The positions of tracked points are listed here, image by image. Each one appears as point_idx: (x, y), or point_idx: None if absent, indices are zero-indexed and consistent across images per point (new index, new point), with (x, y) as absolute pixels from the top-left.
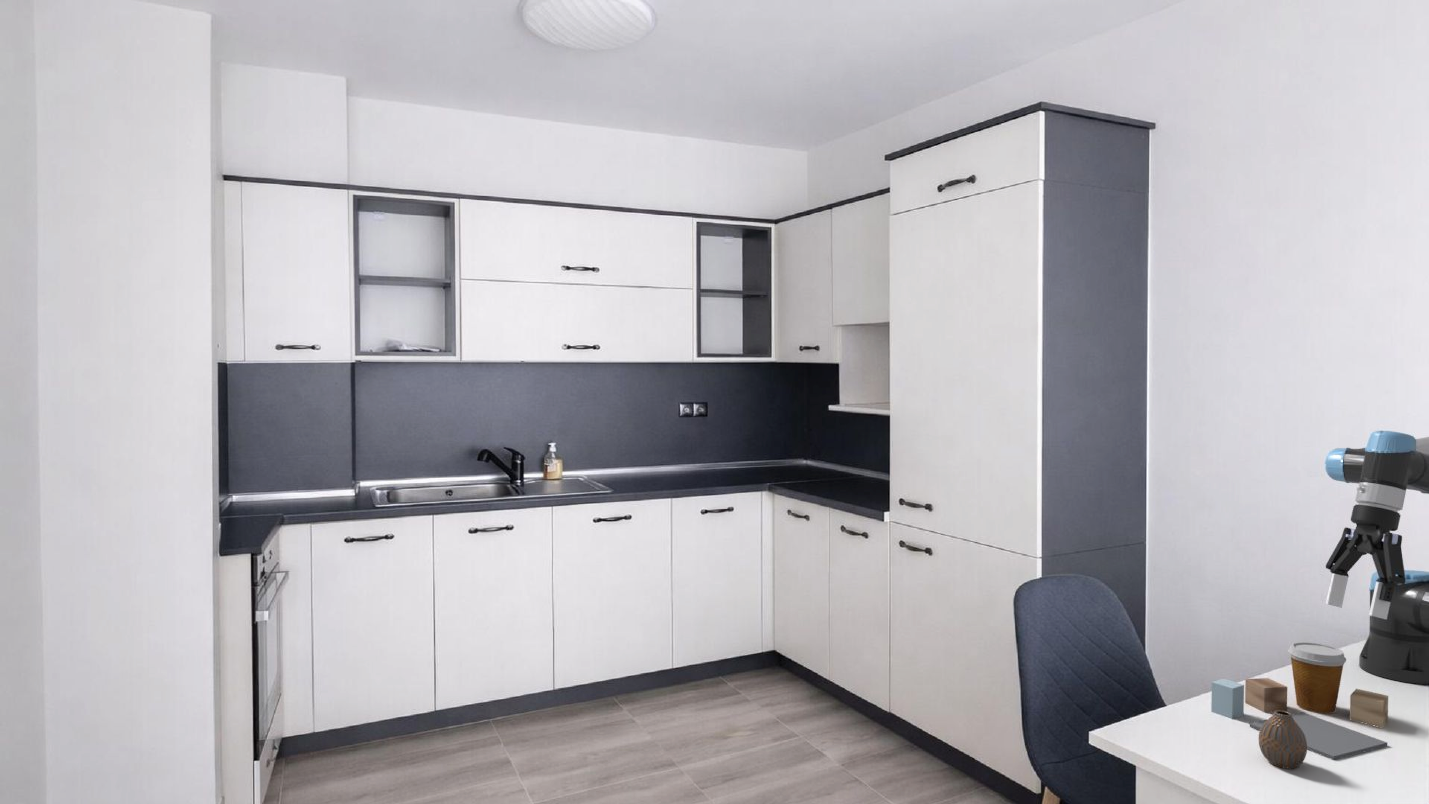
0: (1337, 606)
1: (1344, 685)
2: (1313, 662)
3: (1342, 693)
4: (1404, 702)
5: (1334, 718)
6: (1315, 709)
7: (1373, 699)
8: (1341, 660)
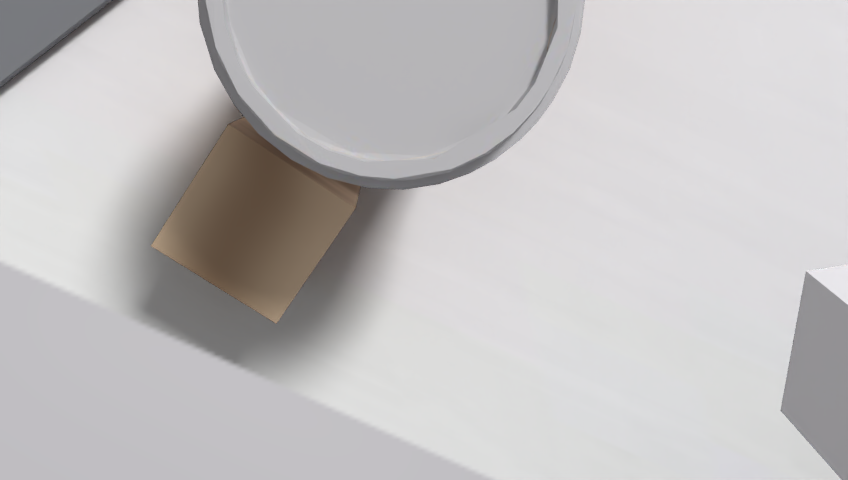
0: (791, 374)
1: (760, 309)
2: None
3: (639, 247)
4: (563, 463)
5: None
6: None
7: (185, 217)
8: (254, 115)
